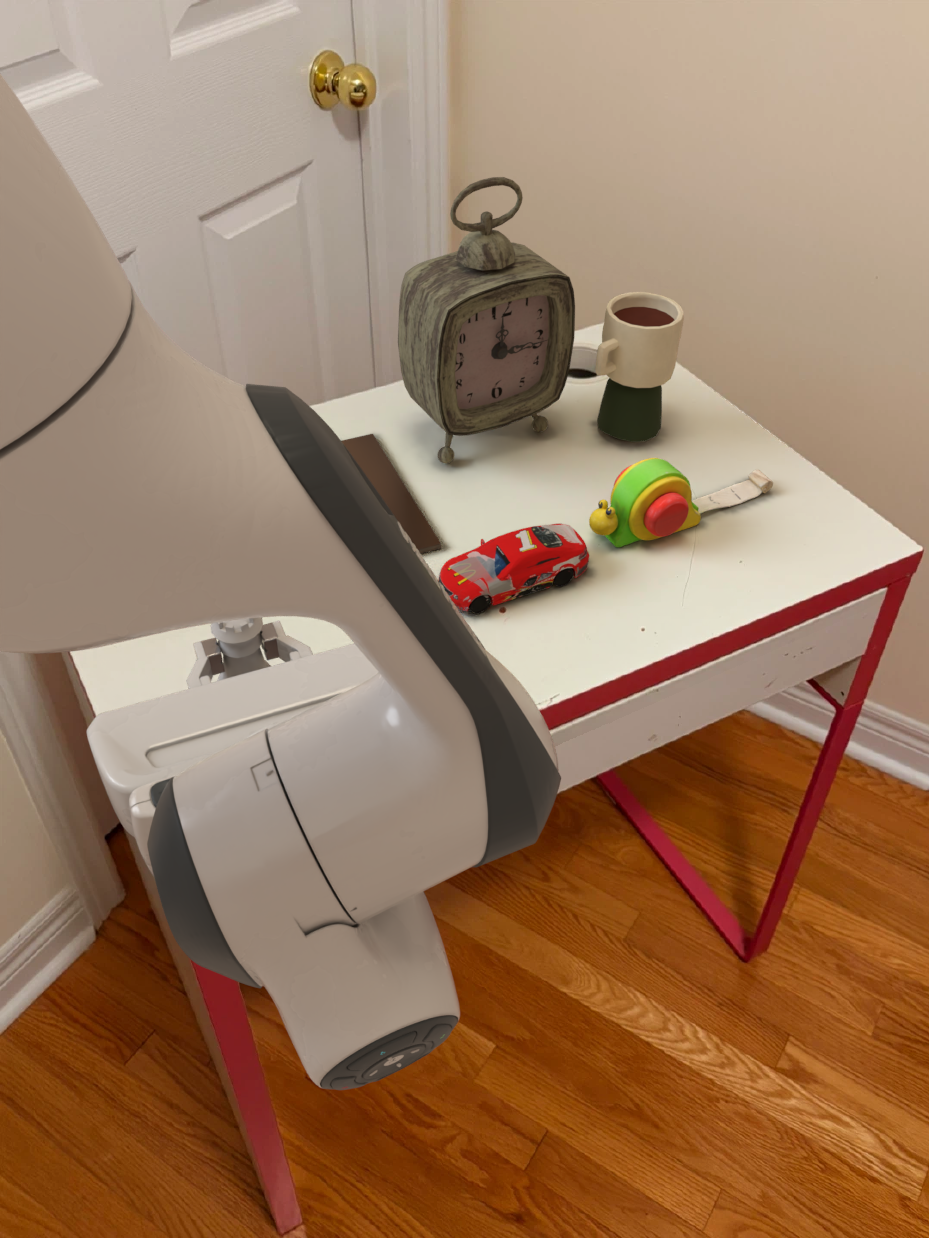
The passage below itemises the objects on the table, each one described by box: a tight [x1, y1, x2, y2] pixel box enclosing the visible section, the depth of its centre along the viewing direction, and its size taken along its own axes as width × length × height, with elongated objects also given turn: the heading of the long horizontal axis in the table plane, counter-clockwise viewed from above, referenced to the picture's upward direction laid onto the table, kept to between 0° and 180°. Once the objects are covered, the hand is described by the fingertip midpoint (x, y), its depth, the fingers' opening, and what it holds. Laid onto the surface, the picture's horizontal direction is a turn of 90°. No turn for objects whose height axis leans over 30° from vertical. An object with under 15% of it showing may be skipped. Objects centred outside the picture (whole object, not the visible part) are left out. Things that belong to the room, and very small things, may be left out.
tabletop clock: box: [397, 176, 576, 465], centre depth 95 cm, size 14×9×25 cm, turn 120°
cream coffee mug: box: [594, 291, 685, 443], centre depth 100 cm, size 11×7×13 cm, turn 128°
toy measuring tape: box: [588, 457, 774, 548], centre depth 92 cm, size 6×19×7 cm, turn 117°
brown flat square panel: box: [341, 433, 442, 555], centre depth 94 cm, size 18×18×1 cm
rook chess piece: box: [210, 617, 272, 681], centre depth 68 cm, size 4×4×8 cm
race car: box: [437, 523, 590, 614], centre depth 87 cm, size 13×5×4 cm, turn 114°
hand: (237, 638), depth 68 cm, fingers closed on rook chess piece, 3 cm apart
